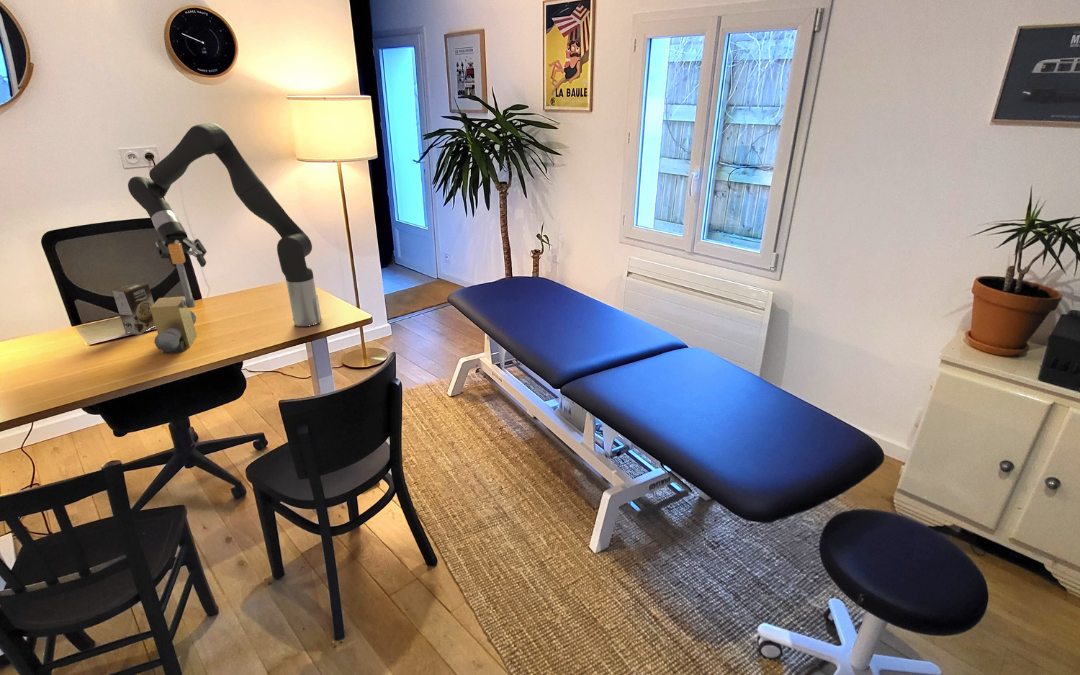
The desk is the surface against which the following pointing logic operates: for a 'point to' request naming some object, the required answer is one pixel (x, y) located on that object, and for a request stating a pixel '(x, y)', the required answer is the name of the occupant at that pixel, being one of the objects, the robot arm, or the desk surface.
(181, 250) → the lever
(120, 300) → the coffee box
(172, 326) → the block
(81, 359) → the desk surface
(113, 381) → the desk surface
